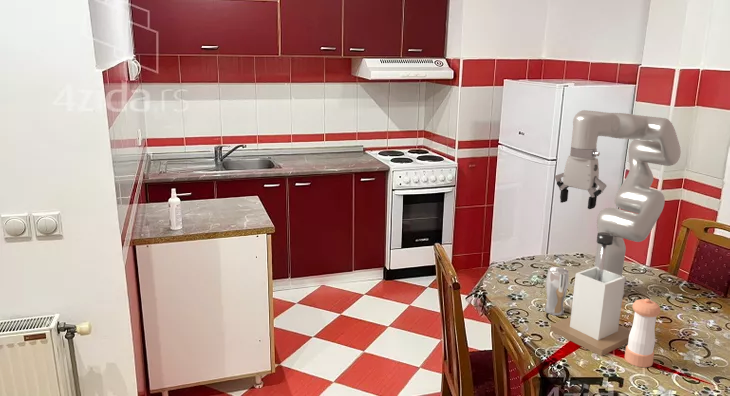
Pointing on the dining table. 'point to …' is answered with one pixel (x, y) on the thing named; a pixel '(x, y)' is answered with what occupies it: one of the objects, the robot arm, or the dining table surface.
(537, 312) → the dining table surface
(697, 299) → the dining table surface
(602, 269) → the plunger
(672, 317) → the dining table surface
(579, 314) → the white pen holder
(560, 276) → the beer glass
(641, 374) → the dining table surface
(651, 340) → the salt shaker
